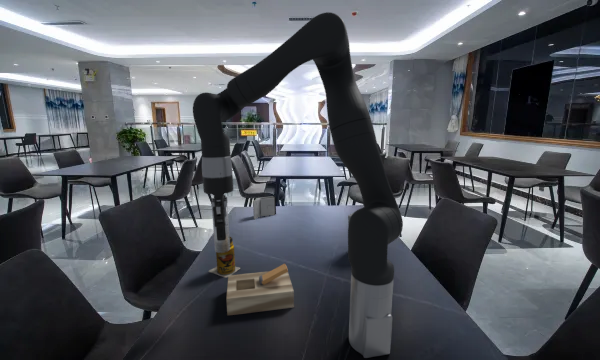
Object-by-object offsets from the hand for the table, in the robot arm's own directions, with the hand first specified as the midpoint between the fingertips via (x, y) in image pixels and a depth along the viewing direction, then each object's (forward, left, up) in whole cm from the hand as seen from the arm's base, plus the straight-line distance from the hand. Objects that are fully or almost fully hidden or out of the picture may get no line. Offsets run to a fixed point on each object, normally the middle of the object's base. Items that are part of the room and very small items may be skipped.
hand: (222, 236), depth 78 cm
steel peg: (0, 0, -4) cm, 4 cm away
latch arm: (+1, -14, -14) cm, 20 cm away
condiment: (+20, +1, -21) cm, 29 cm away
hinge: (+76, -17, -21) cm, 80 cm away
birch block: (+1, -10, -20) cm, 23 cm away
